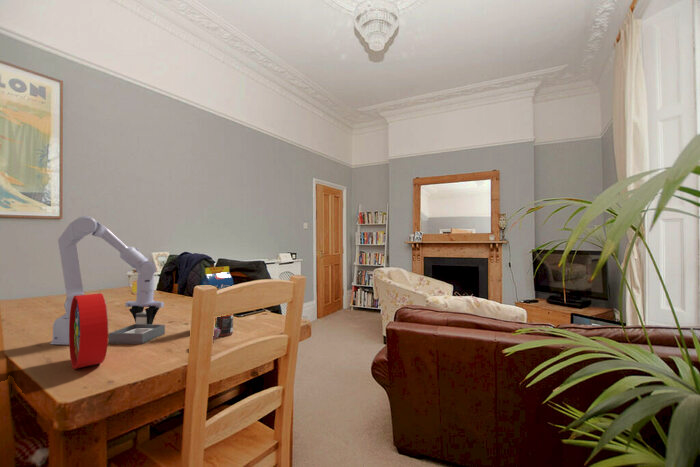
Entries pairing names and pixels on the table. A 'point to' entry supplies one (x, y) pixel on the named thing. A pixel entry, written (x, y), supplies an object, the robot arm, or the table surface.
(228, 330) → the supplement bottle
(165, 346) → the table surface
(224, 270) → the blue food package
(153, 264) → the robot arm
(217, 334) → the video game controller
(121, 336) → the walled box
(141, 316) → the plug
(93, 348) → the toy clock
